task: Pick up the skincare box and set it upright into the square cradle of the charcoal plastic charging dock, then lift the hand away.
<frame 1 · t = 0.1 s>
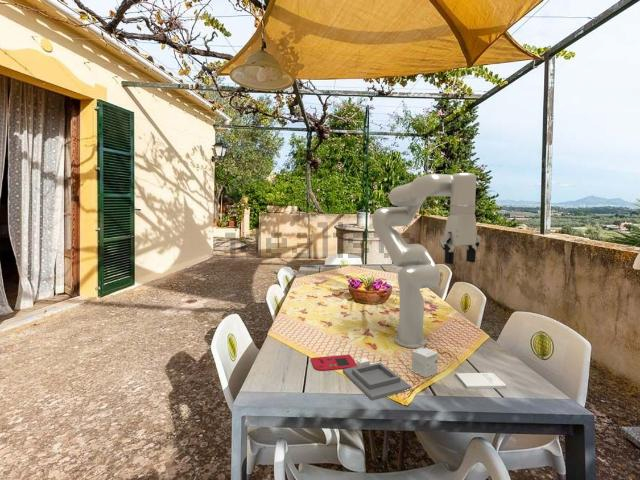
hand: (460, 262, 114), 37 cm above the table, tool pointing down, fingers open, 9 cm apart
handheld gaming console: (333, 365, 121), on the table
skincare box: (424, 372, 115), on the table
external hard drive: (479, 383, 109), on the table
charging dock: (375, 380, 109), on the table
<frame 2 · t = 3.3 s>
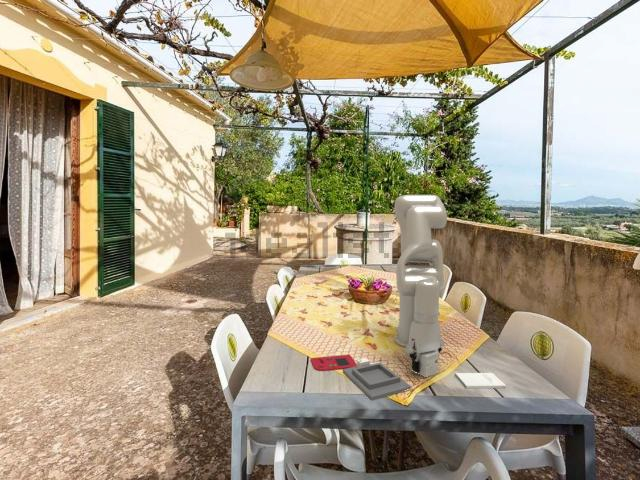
hand: (424, 368, 114), 1 cm above the table, tool pointing down, fingers closed on skincare box, 6 cm apart
skincare box: (424, 372, 115), on the table, touching gripper
everything else where it was.
when the fingers open (4 cm above the table, at t = 9.9 s): skincare box drops 1 cm, resting on charging dock.
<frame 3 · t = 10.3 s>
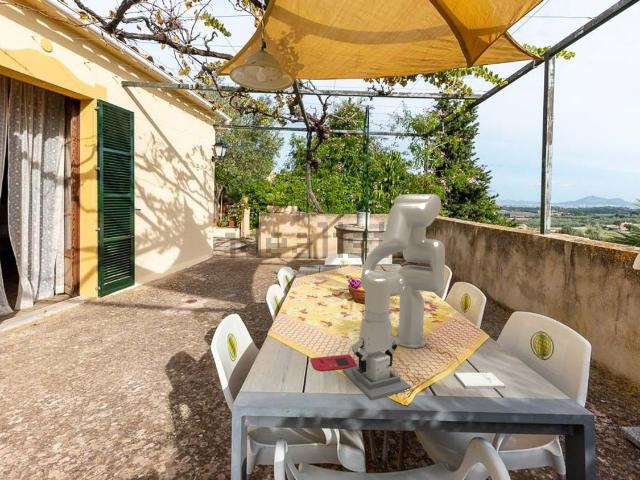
hand: (375, 367, 109), 4 cm above the table, tool pointing down, fingers open, 9 cm apart
skincare box: (376, 377, 109), point 1 cm above the table, touching charging dock
everything else where it was.
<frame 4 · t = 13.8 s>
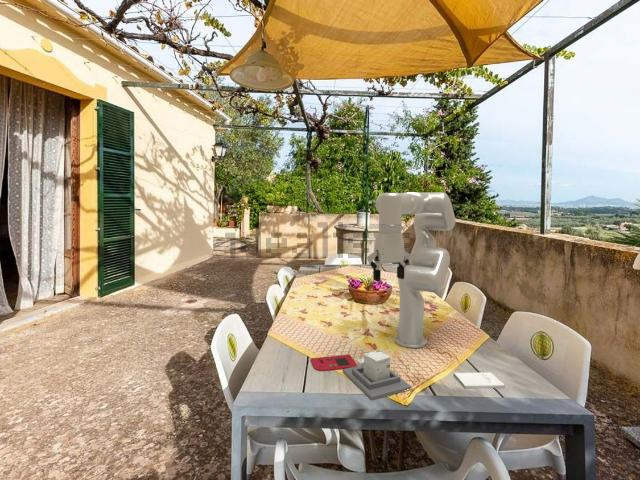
hand: (388, 279, 117), 30 cm above the table, tool pointing down, fingers open, 9 cm apart
nothing on the table moved.
at the end: skincare box 0.4 cm off-centre on the charging dock, point 0.8 cm above the charging dock's base; skincare box tilted 0°; the gripper is holding nothing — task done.
